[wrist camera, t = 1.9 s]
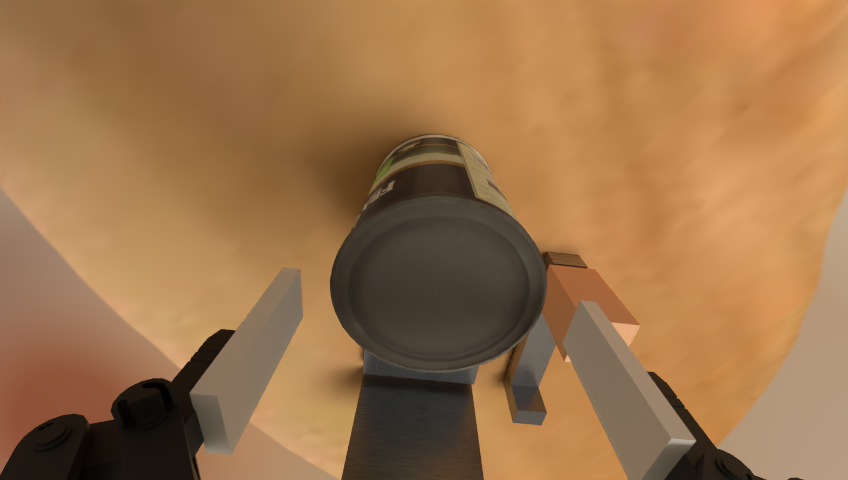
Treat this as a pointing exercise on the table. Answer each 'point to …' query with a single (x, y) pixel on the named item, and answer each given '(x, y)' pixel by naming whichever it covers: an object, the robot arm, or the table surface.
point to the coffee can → (437, 263)
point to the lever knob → (587, 286)
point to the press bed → (413, 425)
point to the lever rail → (533, 360)
